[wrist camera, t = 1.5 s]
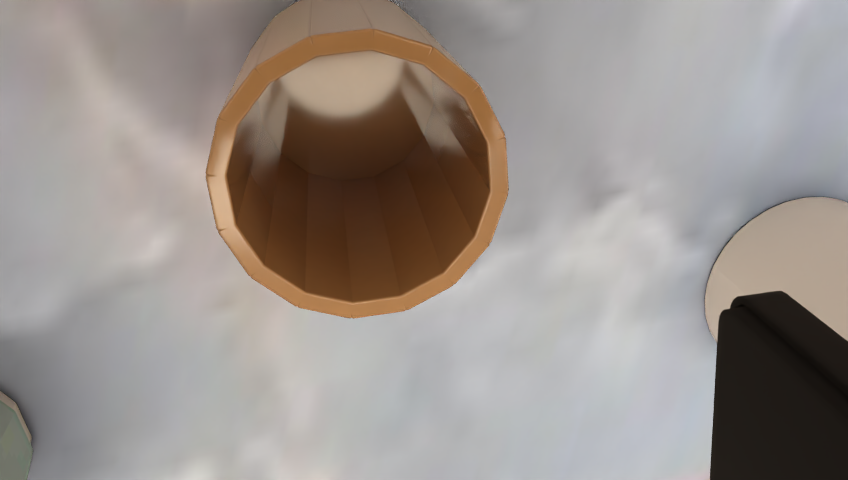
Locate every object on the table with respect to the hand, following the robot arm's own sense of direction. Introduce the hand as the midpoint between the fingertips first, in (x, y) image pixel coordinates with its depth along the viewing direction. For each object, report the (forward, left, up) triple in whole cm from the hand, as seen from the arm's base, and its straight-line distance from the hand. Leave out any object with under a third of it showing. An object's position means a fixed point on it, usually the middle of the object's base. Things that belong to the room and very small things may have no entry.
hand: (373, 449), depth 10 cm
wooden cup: (-1, 0, -19) cm, 19 cm away
